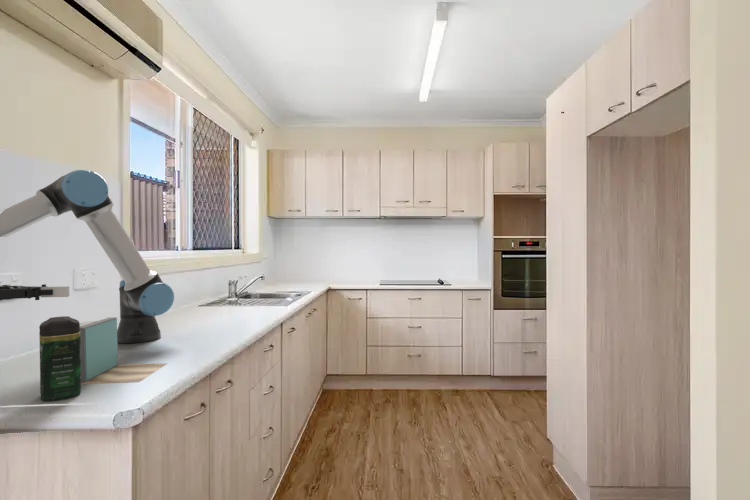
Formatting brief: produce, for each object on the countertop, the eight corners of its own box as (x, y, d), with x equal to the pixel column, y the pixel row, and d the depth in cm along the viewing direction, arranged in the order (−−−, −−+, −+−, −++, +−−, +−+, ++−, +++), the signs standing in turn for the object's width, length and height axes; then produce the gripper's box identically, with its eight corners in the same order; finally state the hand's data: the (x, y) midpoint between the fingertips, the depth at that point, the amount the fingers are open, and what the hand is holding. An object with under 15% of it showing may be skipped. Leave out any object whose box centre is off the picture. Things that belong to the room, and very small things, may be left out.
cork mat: (105, 366, 130) (105, 364, 130) (168, 364, 131) (168, 363, 131) (65, 385, 112) (65, 384, 112) (139, 383, 113) (139, 381, 113)
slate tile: (110, 365, 129) (108, 317, 129) (118, 365, 129) (117, 317, 129) (76, 382, 113) (74, 327, 113) (85, 382, 113) (84, 327, 113)
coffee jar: (83, 398, 103) (81, 317, 103) (40, 405, 98) (38, 321, 98) (80, 387, 111) (78, 313, 110) (40, 394, 106) (38, 316, 106)
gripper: (-5, 304, 126) (82, 302, 127) (-46, 310, 113) (51, 308, 114) (-5, 277, 126) (81, 276, 127) (-46, 281, 113) (51, 279, 114)
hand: (67, 291), depth 120 cm, fingers closed
